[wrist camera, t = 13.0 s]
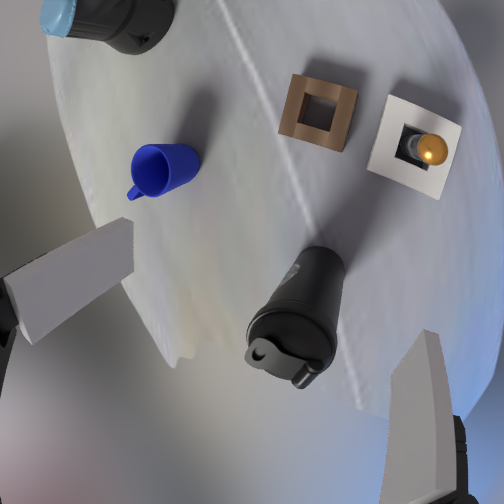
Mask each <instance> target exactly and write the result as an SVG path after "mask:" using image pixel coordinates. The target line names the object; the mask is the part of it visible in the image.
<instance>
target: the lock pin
mask: <svg viewBox="0 0 504 504" xmlns="http://www.w3.org/2000/svg"><path fill="white" fill-rule="evenodd" d="M401 150H402V152H403V153H404V154H405V155H407V156H409V157H412V158H414V159H417V160H420V161H422V162H425V163H428V164H430V165H434V166H437V165H441V164H442V163H444V162H445V160H446V159H447V156H448V146H447V144H446V142H445V140H444V139H443V138H442V137H441V136H439V135H437V134H420V135H408V136H405V137H404V138H403V139H402V141H401Z"/></svg>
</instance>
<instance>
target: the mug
mask: <svg viewBox="0 0 504 504" xmlns="http://www.w3.org/2000/svg"><path fill="white" fill-rule="evenodd" d="M198 170H199V158H198V155H197V153H196V152H195V150H194V149H193V148H191V147H190V146H187V145H184V144H148V145H144V146H142V147H141V148H140V149H138V150H137V152H136V153H135V155H134V157H133V160H132V164H131V175H132V179H133V182H134V184H135V185H134V186H133V187H132V188H131V189H130V191H129V192H128V193H127V197H128V199H129V200H130V201H132V200H135V199H137V198H139V197H142V196H144V195H146V196H148V197H158V196H160V195H162V194H164V193H166V192H168V191H170V190H173V189H175V188H177V187H179V186H181V185H183V184H185V183H187V182H189V181H191V180H192V179H193V178H194V177H195V176H196V174H197V173H198Z"/></svg>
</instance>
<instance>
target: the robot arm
mask: <svg viewBox="0 0 504 504" xmlns="http://www.w3.org/2000/svg"><path fill="white" fill-rule="evenodd" d="M173 15H174V5H173V2H172V0H44V2H43V5H42V9H41V14H40V25H41V28H42V30H43V32H44V33H46V34H48V35H54V36H59V37H62V38H64V37H72V38H81V39H90V40H97V41H103V42H105V43H107V44H108V45H110V46H111V47H113V48H114V49H116V50H117V51H119V52H121V53H124V54H129V55H138V54H142V53H144V52H146V51H148V50H150V49H151V48H153V47H154V46H155V45H156V44H157V43H158V42H159V41H160V40H161V39H162V38H163V37H164V35H165V34H166V32H167V31H168V29H169V27H170V25H171V22H172V19H173ZM133 224H134V222H133V221H131V220H128V219H125V218H123V217H122V218H119V219H117V220H115V221H113V222H110V223H108V224H106V225H104V226H102V227H99V228H97V229H95V230H93V231H91V232H89V233H87V234H85V235H83V236H81V237H79V238H77V239H75V240H73V241H70V242H68V243H66V244H65V245H62V246H61V247H59V248H57V249H55V250H53V251H51V252H49V253H45V254H43V255H41V256H40V257H38V258H36V259H35V260H32V261H30V262H28V264H25V265H23V266H22V267H20V268H18V269H16V270H14V271H12V272H11V273H9V274H7V275H5V276H4V277H2V278H0V396H1V391H2V386H3V382H4V377H5V373H6V369H7V365H8V361H9V357H10V354H11V350H12V346H13V343H14V340H15V336H16V331H17V330H16V328H15V326H17V325H18V324H19V326H20V328H21V330H22V333H23V335H24V336H25V337H26V338H27V340H28V341H29V342H30V343H31V344H32V345H33V344H35V343H36V342H37V341H38V340H40V339H41V338H42V337H44V336H45V335H46V334H48V333H49V332H50V331H51V330H53V329H54V328H55V327H57V326H58V325H59V324H61V323H62V322H63V321H65V320H66V319H67V318H69V317H70V316H72V315H73V314H74V313H76V312H77V311H78V310H80V309H81V308H83V307H84V306H85V305H87V304H88V303H89V302H91V301H92V300H94V299H95V298H96V297H98V296H99V295H100V294H102V293H104V292H105V291H107V290H108V289H109V288H111V287H112V286H114V285H115V284H116V283H118V282H119V281H121V280H122V279H124V278H125V277H127V276H128V275H130V274H131V273H133V272H134V262H133ZM465 442H466V435H465V428H464V426H463V423H462V421H461V418H460V416H456V415H453V412H452V404H451V397H450V390H449V384H448V378H447V372H446V367H445V362H444V357H443V353H442V348H441V344H440V339H439V335H438V334H436V333H433V332H430V331H427V330H425V329H423V330H422V332H421V333H420V335H419V336H418V338H417V339H416V341H415V342H414V344H413V345H412V347H411V348H410V350H409V351H408V353H407V354H406V355H405V357H404V358H403V359H402V361H401V362H400V364H399V365H398V366H397V368H396V369H395V370H394V372H393V373H392V374H391V400H390V420H389V433H388V444H387V454H386V463H385V469H384V477H383V483H382V489H381V495H380V500H379V504H479V503H478V501H477V500H476V498H475V497H474V496H472V495H471V494H468V463H467V461H468V460H467V454H466V452H467V445H466V444H465ZM0 504H2V503H1V498H0Z"/></svg>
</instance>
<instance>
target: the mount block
mask: <svg viewBox="0 0 504 504" xmlns="http://www.w3.org/2000/svg"><path fill="white" fill-rule="evenodd" d="M310 96H313V97H317V98H321V99H324V100H328V101H331V102H335V103H337V106H336V110H335V114H334V118H333V121H332V125H331V129H330V132H328V131H325V130H322V129H319V128H315V127H312V126H308V125H305V124H303V120H304V117H305V113H306V109H307V105H308V101H309V97H310ZM357 98H358V91H357V90H354V89H351V88H348V87H344V86H341V85H337V84H334V83H330V82H326V81H322V80H318V79H314V78H310V77H306V76H301V75H297V74H293V75H292V79H291V83H290V87H289V91H288V95H287V99H286V103H285V107H284V111H283V115H282V119H281V123H280V127H279V131H278V134H282V135H286V136H289V137H293V138H296V139H300V140H303V141H307V142H310V143H313V144H316V145H320V146H323V147H326V148H329V149H332V150H335V151H338V152H342V151H343V149H344V145H345V142H346V138H347V135H348V131H349V128H350V124H351V120H352V117H353V113H354V109H355V106H356V102H357Z"/></svg>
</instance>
